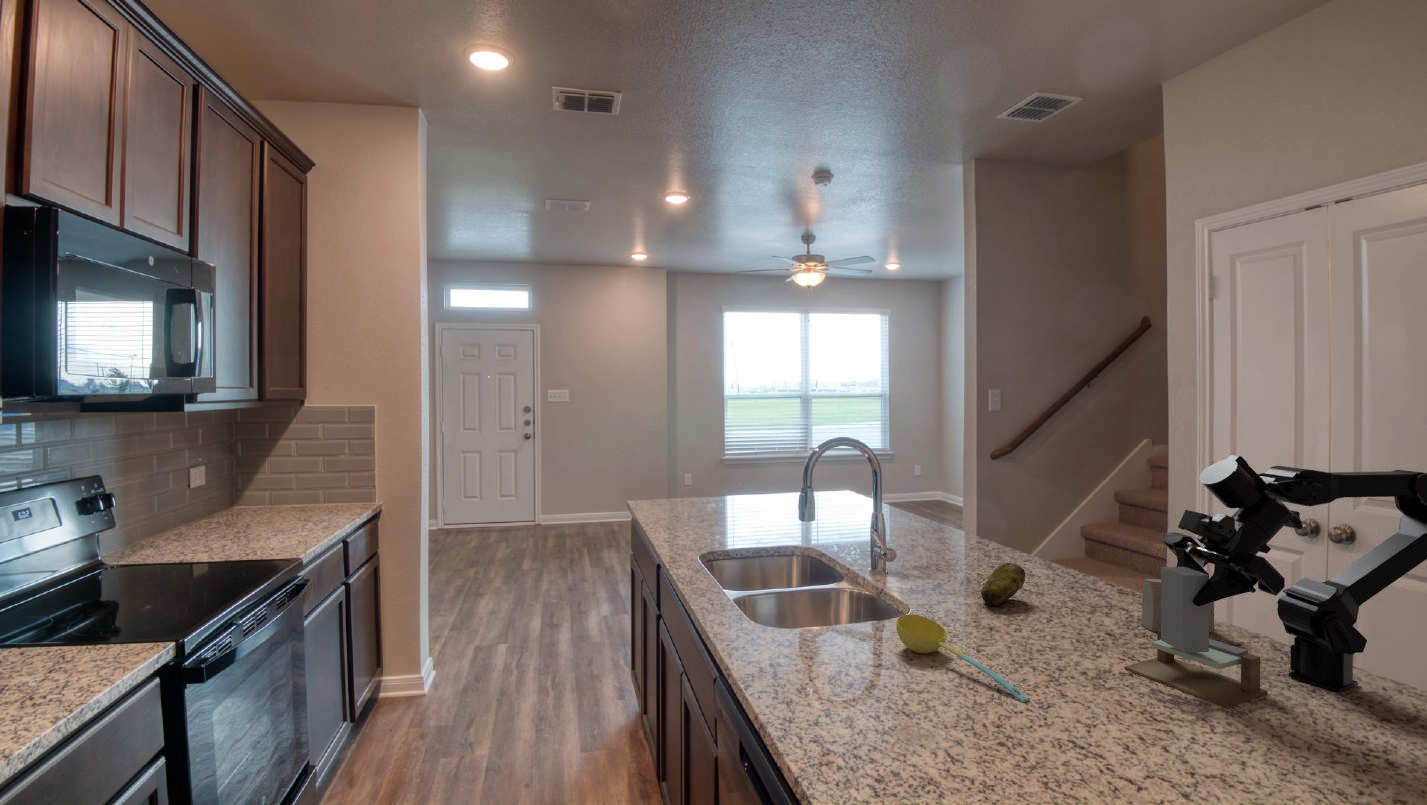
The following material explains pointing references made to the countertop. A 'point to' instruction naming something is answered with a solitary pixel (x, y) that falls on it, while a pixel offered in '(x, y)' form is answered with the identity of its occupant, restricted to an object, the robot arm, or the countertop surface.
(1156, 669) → the trapdoor frame
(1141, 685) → the countertop surface
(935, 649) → the ladle
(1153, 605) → the grey plaster block
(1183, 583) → the grey rectangular block
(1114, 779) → the countertop surface
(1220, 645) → the trapdoor
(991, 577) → the potato
